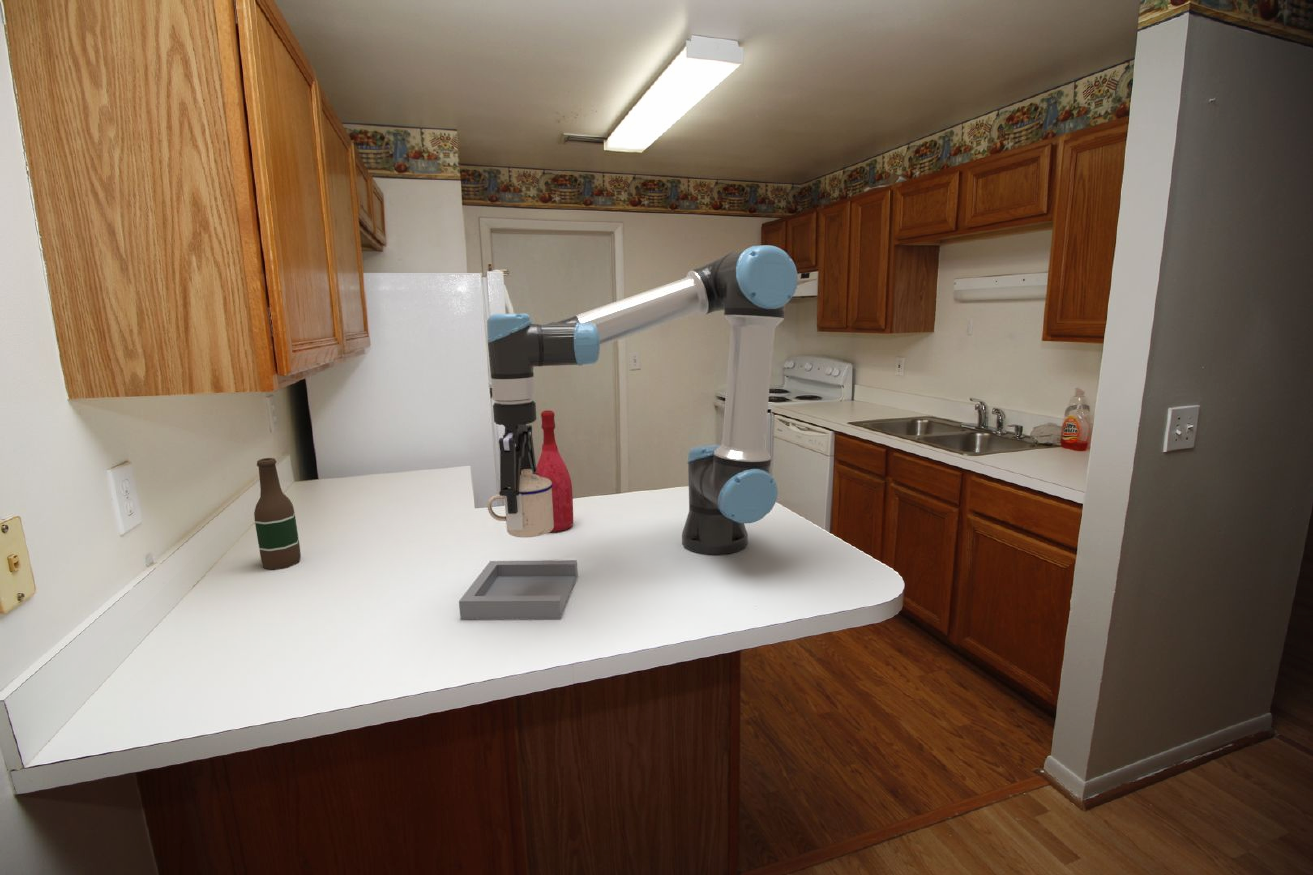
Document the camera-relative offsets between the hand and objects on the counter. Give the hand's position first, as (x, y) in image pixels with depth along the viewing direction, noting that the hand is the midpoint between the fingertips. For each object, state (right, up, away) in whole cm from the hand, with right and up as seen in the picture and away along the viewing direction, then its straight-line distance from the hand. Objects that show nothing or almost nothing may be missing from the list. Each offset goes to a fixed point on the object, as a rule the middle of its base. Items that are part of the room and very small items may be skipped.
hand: (522, 520), depth 114 cm
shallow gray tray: (-1, -15, +3) cm, 15 cm away
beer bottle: (-59, -13, +23) cm, 64 cm away
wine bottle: (-1, -7, +41) cm, 42 cm away
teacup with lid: (0, -2, 0) cm, 2 cm away
